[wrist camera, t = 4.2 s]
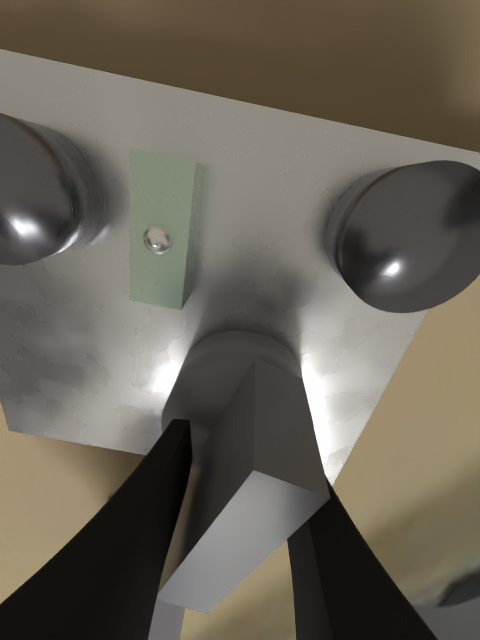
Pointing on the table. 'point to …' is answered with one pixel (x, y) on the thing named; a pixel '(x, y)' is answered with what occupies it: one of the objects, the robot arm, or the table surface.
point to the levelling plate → (209, 249)
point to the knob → (239, 464)
